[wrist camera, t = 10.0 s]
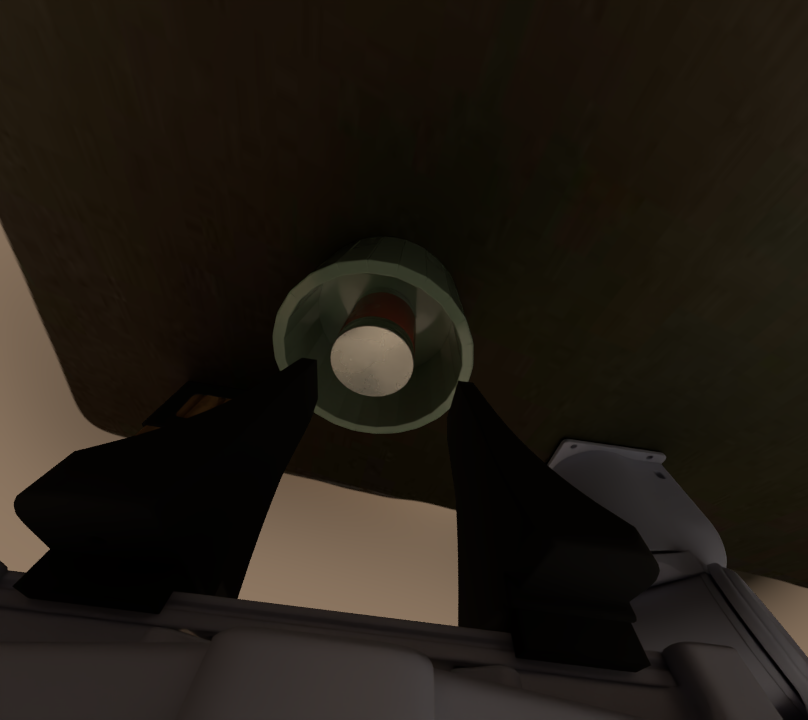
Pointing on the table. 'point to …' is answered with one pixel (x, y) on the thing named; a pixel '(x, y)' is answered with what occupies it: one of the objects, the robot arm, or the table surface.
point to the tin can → (376, 344)
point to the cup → (331, 305)
